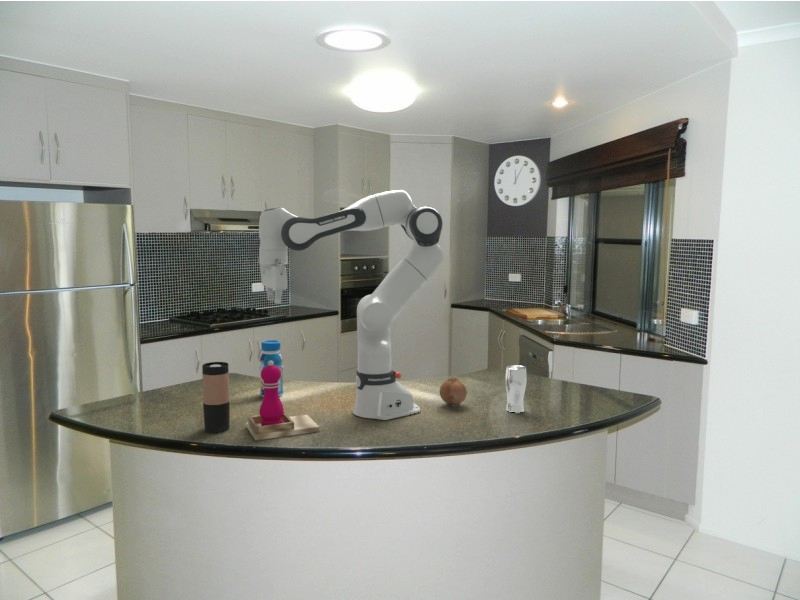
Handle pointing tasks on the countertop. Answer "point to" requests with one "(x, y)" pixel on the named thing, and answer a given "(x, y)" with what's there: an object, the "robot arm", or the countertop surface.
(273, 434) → the mill holder
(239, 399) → the countertop surface
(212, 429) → the travel mug
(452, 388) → the onion
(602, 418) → the countertop surface
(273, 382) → the pepper mill
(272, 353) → the beverage bottle
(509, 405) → the beer glass
